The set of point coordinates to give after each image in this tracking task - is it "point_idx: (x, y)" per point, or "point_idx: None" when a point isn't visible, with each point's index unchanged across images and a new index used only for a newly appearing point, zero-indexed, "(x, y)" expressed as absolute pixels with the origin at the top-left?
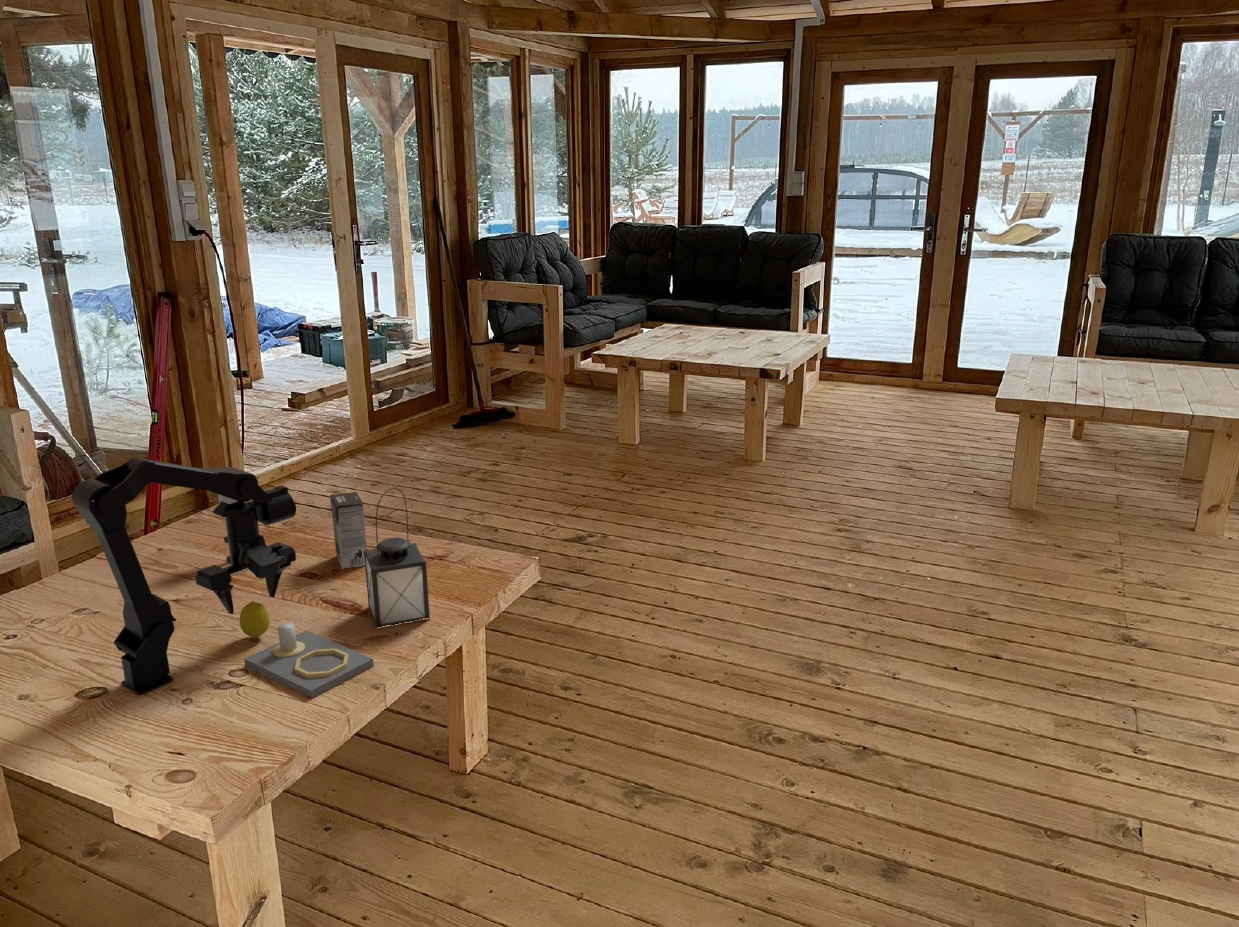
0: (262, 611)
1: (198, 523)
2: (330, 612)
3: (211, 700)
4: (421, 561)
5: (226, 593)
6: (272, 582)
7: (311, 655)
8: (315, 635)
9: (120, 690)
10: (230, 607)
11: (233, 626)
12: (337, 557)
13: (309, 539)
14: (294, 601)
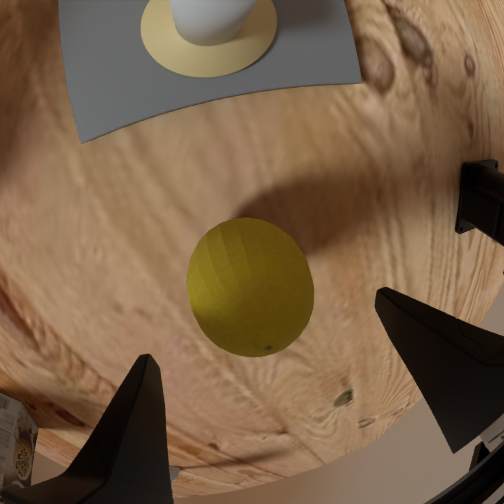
0: (231, 274)
1: (189, 494)
2: (12, 270)
3: (445, 23)
4: None
5: (498, 346)
6: (135, 431)
7: None
8: (71, 80)
9: None
10: (416, 303)
11: None
12: (34, 425)
13: None
14: (92, 369)
